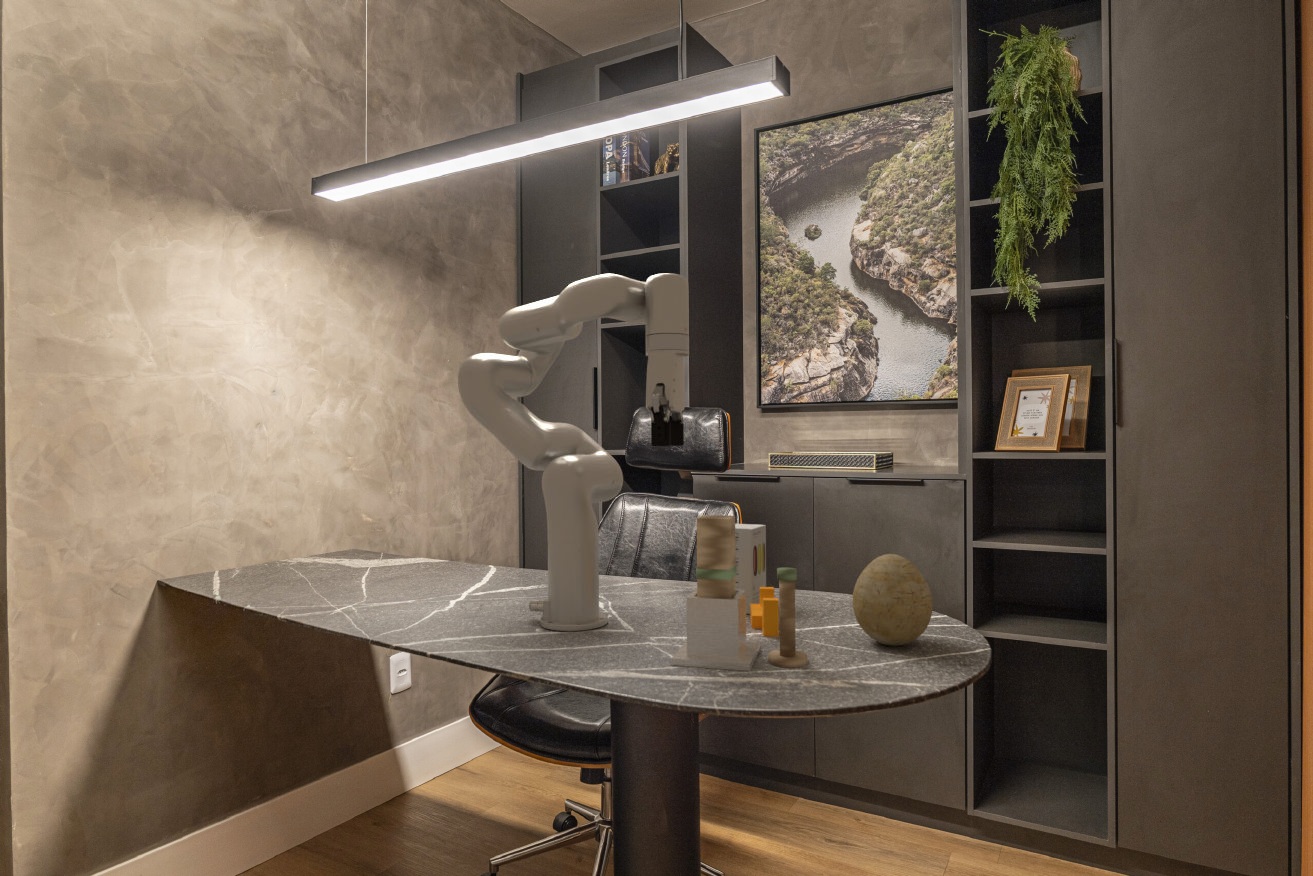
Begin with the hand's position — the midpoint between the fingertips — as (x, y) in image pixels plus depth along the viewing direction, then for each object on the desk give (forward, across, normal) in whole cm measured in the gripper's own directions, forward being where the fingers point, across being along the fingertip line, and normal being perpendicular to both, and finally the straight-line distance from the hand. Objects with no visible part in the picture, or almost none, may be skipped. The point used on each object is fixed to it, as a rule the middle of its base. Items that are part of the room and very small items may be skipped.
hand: (668, 445), depth 130 cm
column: (+26, +9, +10) cm, 29 cm away
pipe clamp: (+34, -11, +15) cm, 38 cm away
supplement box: (+34, -26, +8) cm, 43 cm away
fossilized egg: (+34, -5, +37) cm, 50 cm away
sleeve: (+33, +9, +10) cm, 36 cm away
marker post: (+33, +9, +21) cm, 40 cm away
